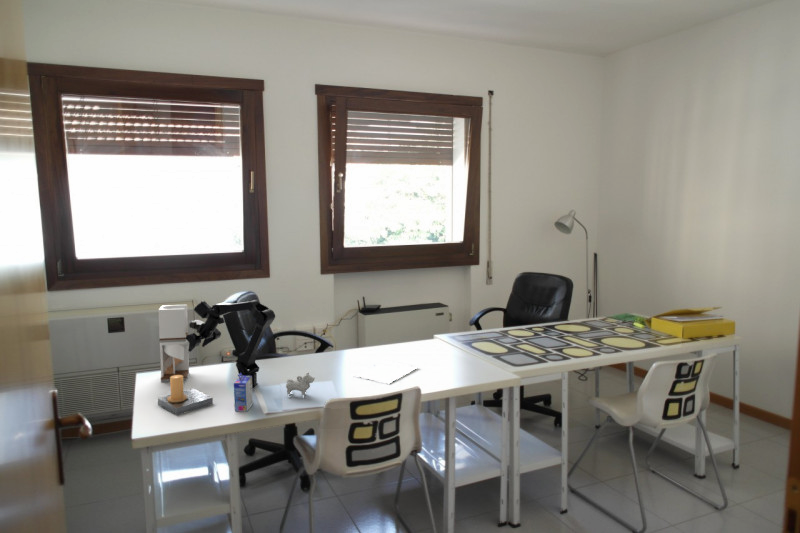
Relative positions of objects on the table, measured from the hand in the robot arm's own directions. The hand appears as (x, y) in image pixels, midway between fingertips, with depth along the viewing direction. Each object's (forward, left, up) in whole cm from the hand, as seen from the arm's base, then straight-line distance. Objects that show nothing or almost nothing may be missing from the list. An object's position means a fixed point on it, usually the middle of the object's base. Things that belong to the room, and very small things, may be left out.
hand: (196, 348), depth 253 cm
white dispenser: (+10, +1, -15) cm, 18 cm away
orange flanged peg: (-11, +35, -15) cm, 40 cm away
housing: (-13, +32, -15) cm, 38 cm away
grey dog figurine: (-57, +13, -15) cm, 60 cm away
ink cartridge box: (-38, +30, -15) cm, 50 cm away
